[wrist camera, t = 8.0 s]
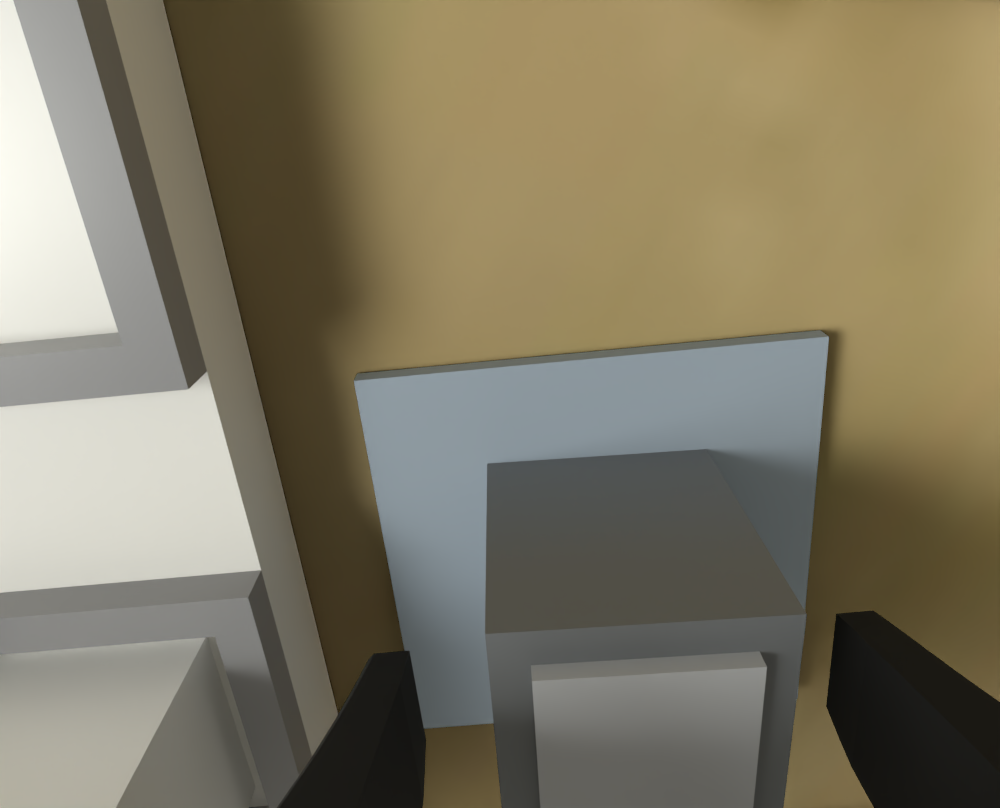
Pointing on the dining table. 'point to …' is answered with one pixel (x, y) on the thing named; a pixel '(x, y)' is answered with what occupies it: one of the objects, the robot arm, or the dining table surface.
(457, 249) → the dining table surface
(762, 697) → the block
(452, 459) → the mat
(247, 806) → the white plug
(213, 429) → the power strip
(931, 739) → the robot arm
